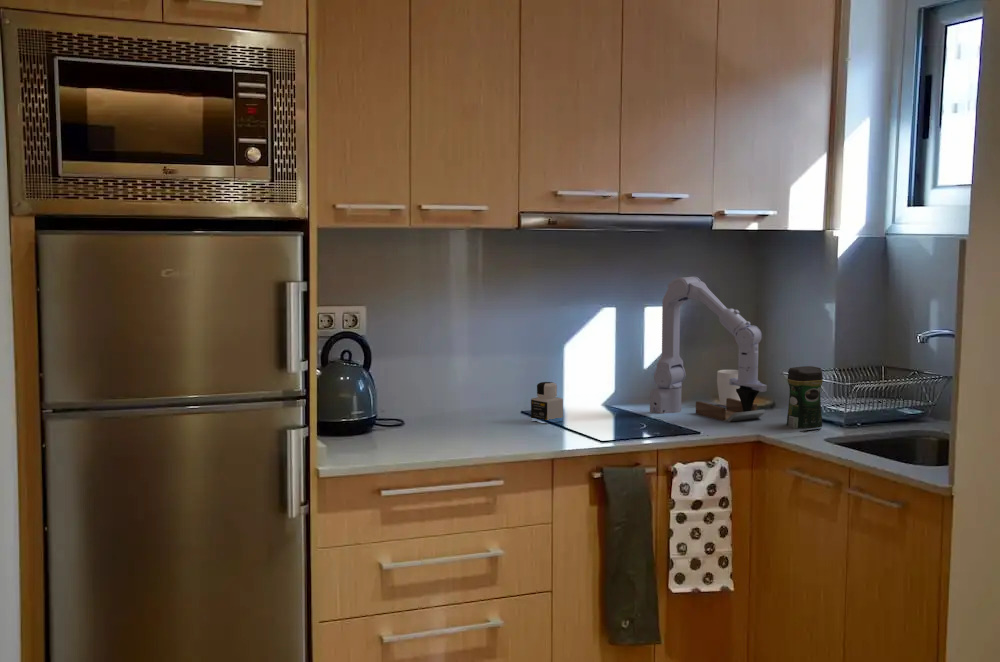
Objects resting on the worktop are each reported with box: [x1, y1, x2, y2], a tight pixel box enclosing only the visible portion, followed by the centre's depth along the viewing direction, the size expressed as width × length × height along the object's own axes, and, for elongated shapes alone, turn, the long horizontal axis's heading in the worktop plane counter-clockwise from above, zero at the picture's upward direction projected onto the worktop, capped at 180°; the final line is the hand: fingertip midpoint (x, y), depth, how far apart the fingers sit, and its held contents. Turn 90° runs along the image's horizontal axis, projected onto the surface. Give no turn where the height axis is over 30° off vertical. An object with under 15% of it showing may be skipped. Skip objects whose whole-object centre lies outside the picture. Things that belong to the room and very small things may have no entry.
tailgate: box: [724, 409, 766, 422], centre depth 293 cm, size 11×1×5 cm
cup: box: [716, 369, 741, 407], centre depth 319 cm, size 9×9×12 cm
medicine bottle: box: [530, 381, 564, 420], centre depth 300 cm, size 7×7×12 cm
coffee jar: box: [786, 365, 824, 433], centre depth 284 cm, size 10×8×19 cm
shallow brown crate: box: [695, 398, 758, 422], centre depth 301 cm, size 13×13×5 cm
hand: (747, 412), depth 292 cm, fingers closed
